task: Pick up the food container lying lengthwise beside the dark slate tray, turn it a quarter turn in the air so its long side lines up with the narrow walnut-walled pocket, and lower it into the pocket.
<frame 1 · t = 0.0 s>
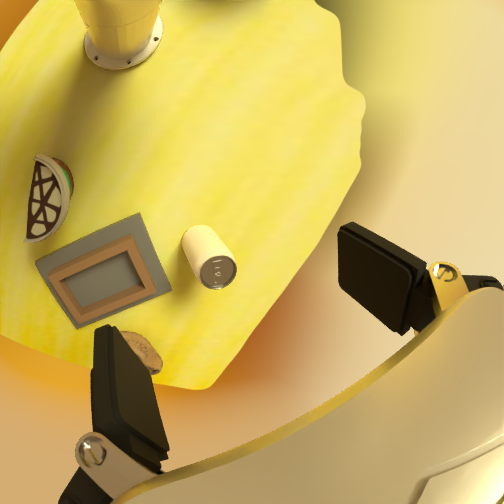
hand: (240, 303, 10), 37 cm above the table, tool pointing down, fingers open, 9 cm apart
oil lamp: (131, 342, 52), on the table
can: (198, 240, 49), on the table
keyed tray: (102, 275, 43), on the table
food container: (63, 189, 35), on the table
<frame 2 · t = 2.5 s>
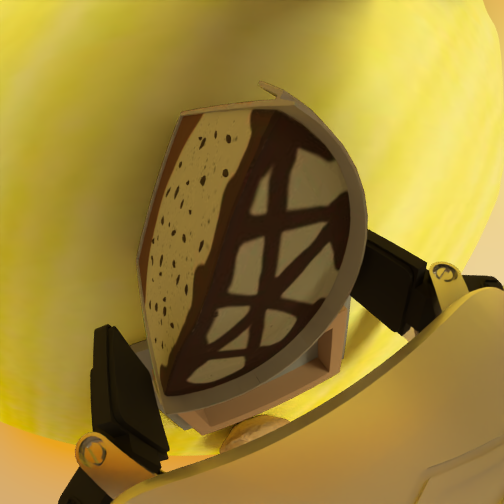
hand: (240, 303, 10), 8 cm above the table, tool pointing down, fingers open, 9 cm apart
oil lamp: (255, 423, 35), on the table
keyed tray: (252, 359, 26), on the table
food container: (201, 200, 16), on the table, touching gripper
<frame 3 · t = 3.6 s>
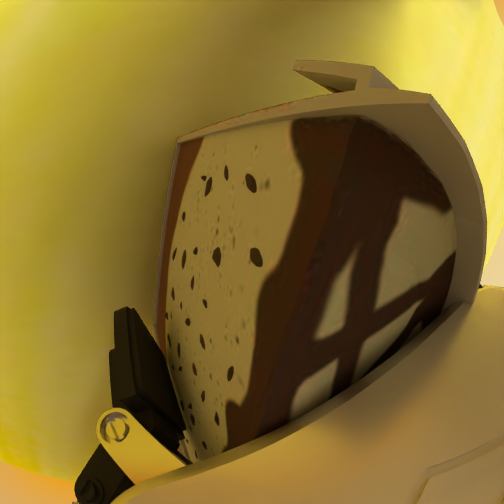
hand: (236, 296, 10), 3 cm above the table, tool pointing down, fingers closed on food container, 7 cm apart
food container: (222, 246, 13), on the table, touching gripper
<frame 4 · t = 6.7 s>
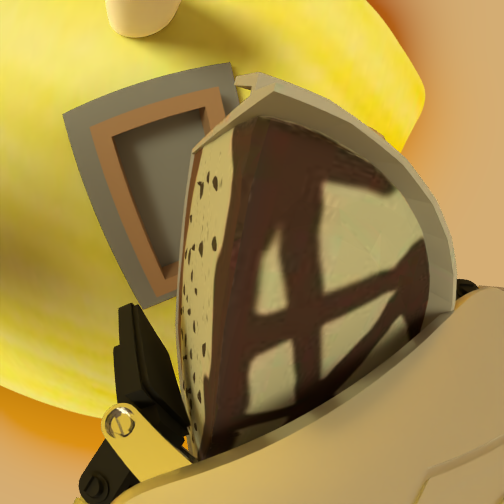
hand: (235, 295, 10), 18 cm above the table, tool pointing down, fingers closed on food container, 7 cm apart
can: (141, 13, 16), on the table
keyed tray: (174, 189, 25), on the table
food container: (240, 250, 14), point 14 cm above the table, touching gripper
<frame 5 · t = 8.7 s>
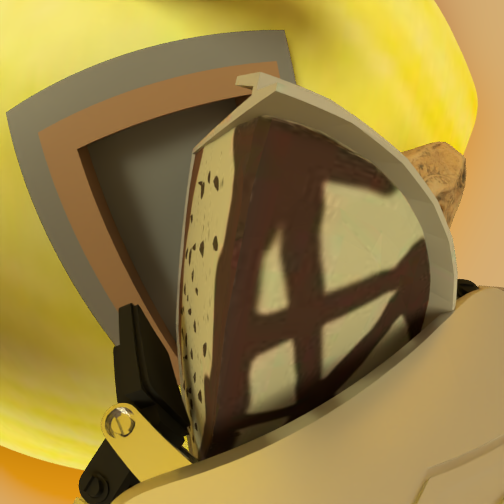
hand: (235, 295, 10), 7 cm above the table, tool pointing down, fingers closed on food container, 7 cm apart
oil lamp: (387, 191, 22), on the table
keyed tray: (192, 230, 16), on the table
food container: (240, 250, 14), point 4 cm above the table, touching gripper
when the fingers open (5 cm above the table, at t = 10.1 s): food container stays where it is, resting on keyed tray.
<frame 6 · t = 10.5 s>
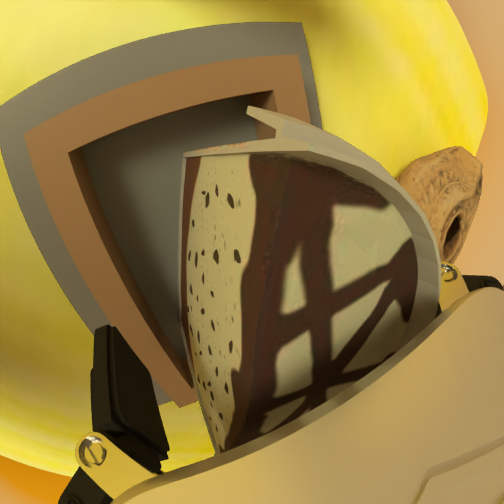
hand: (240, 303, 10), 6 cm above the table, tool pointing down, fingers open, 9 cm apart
oil lamp: (402, 197, 21), on the table
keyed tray: (200, 242, 15), on the table
food container: (235, 244, 15), point 1 cm above the table, touching gripper, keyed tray
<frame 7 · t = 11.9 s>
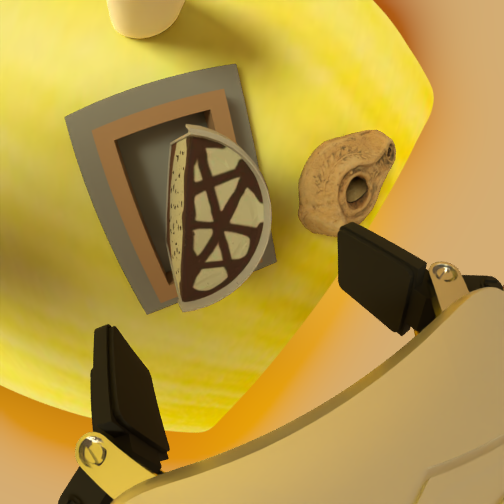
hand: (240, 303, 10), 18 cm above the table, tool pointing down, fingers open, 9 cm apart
oil lamp: (329, 170, 31), on the table
can: (144, 13, 15), on the table
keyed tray: (179, 193, 25), on the table
food container: (198, 193, 25), point 1 cm above the table, touching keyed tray
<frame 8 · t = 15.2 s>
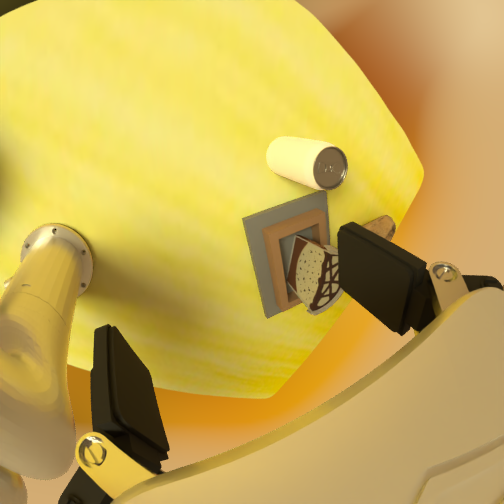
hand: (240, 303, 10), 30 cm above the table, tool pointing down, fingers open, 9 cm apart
oil lamp: (359, 236, 57), on the table
can: (282, 155, 41), on the table
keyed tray: (293, 256, 51), on the table
food container: (303, 257, 51), point 1 cm above the table, touching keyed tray
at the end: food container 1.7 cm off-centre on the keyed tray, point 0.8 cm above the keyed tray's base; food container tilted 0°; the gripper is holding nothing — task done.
